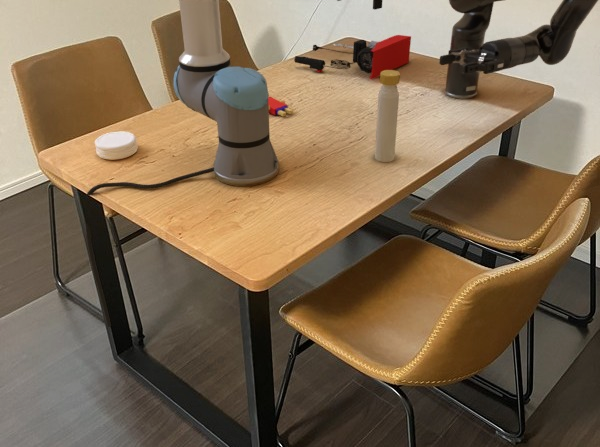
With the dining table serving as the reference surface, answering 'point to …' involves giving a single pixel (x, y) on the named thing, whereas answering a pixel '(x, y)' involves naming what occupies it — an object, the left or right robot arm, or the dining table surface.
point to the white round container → (116, 145)
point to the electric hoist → (368, 55)
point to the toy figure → (278, 107)
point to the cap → (389, 77)
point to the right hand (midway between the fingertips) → (451, 65)
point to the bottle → (386, 123)
